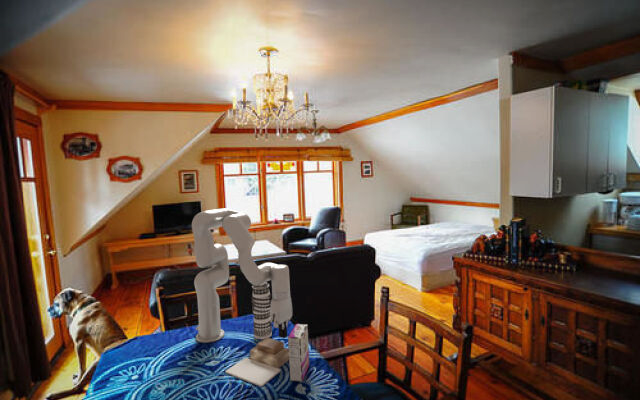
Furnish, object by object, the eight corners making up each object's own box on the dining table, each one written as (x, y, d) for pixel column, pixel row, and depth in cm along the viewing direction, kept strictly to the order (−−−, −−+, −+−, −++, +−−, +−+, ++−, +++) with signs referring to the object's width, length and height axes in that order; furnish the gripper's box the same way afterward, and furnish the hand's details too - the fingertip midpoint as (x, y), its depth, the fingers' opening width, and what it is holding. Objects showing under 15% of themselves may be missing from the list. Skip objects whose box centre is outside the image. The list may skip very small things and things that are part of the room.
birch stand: (250, 359, 134) (250, 350, 134) (263, 350, 141) (263, 341, 141) (277, 368, 127) (277, 358, 127) (290, 359, 134) (289, 349, 134)
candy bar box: (297, 364, 130) (295, 323, 129) (309, 365, 129) (308, 324, 128) (289, 381, 119) (287, 336, 118) (302, 382, 118) (300, 337, 117)
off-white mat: (225, 372, 126) (225, 371, 126) (246, 358, 135) (245, 357, 135) (261, 386, 116) (261, 385, 116) (280, 371, 126) (280, 369, 126)
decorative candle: (271, 339, 151) (269, 285, 150) (251, 339, 151) (248, 286, 150) (274, 330, 160) (272, 279, 159) (255, 330, 160) (253, 280, 159)
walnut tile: (257, 349, 134) (257, 343, 134) (267, 343, 139) (266, 337, 139) (274, 355, 129) (274, 349, 129) (284, 348, 135) (283, 342, 134)
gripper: (284, 288, 148) (286, 328, 149) (262, 298, 136) (264, 342, 137) (298, 290, 144) (300, 331, 145) (276, 301, 132) (279, 346, 133)
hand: (283, 336), depth 141 cm, fingers closed
